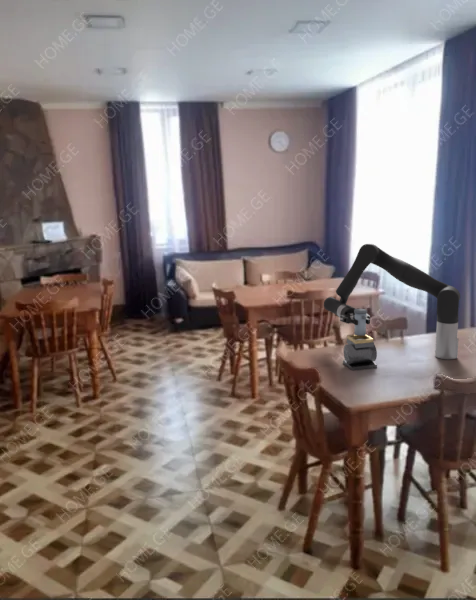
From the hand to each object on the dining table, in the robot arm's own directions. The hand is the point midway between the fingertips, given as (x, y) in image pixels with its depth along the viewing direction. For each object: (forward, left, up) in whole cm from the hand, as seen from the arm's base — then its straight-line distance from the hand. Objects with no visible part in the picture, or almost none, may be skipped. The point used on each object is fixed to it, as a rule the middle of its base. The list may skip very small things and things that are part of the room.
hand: (363, 322), depth 224 cm
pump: (+1, -3, -6) cm, 7 cm away
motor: (+1, -2, -21) cm, 21 cm away
